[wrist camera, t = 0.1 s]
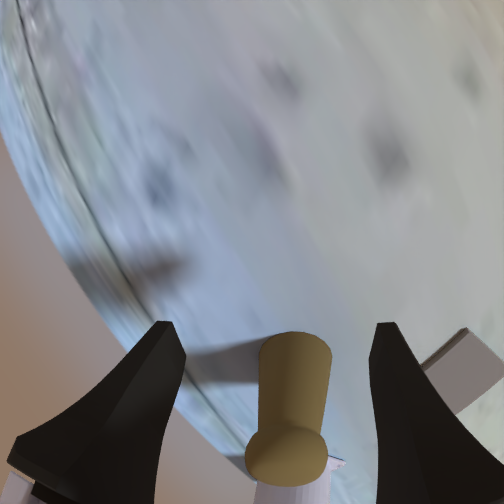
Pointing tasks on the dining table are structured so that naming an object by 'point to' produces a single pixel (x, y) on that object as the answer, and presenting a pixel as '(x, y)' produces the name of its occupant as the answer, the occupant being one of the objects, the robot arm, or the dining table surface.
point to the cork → (290, 411)
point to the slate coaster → (464, 370)
